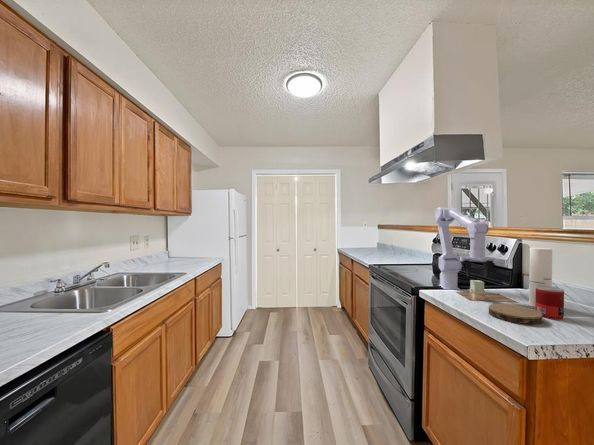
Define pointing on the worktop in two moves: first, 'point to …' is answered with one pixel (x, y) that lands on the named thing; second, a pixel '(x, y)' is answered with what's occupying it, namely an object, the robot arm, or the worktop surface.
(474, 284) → the sage cube
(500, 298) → the brown flat board
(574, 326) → the worktop surface
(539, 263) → the cylindrical container
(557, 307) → the canned food
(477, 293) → the maple brick
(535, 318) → the wood slice
